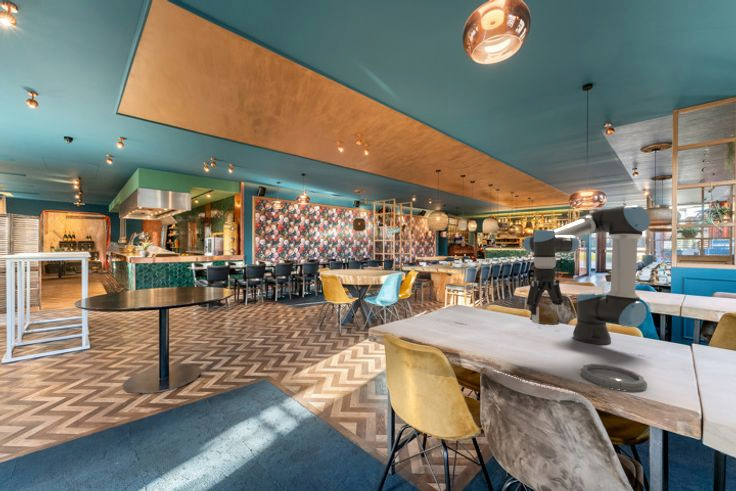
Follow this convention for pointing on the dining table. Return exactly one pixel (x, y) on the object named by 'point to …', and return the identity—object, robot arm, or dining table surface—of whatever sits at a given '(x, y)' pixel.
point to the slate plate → (613, 377)
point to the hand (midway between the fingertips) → (545, 321)
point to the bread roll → (547, 316)
